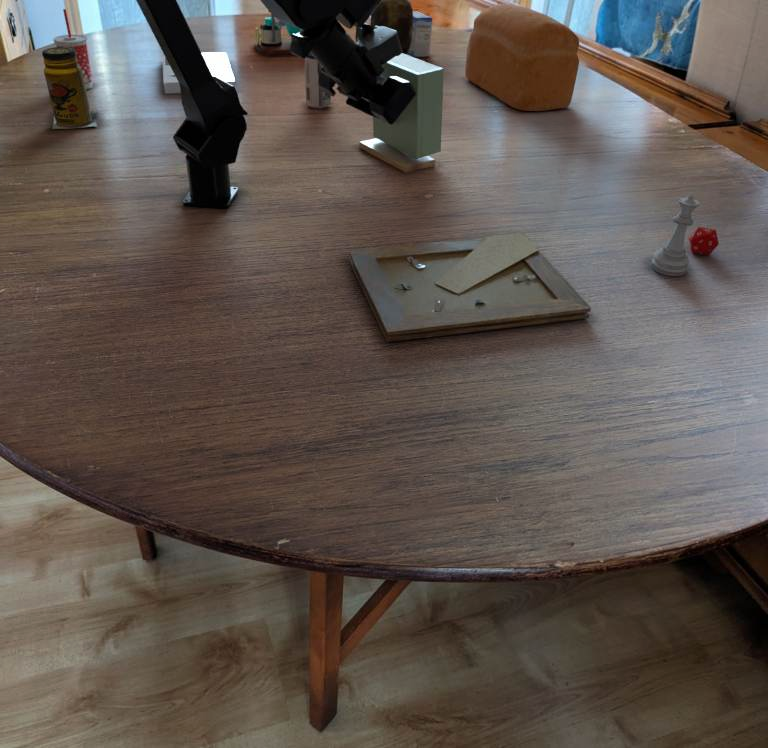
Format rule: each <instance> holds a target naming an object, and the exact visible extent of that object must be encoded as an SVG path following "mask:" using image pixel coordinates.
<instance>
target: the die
mask: <svg viewBox="0 0 768 748" xmlns="http://www.w3.org/2000/svg"><path fill="white" fill-rule="evenodd" d="M688 242H689V247H690V251H691V254H696V255H702V256H710V255H711V254H712V253H713V251H714V250H715V249H717V247H718V246H719V245H720V244H719V238H718V234H717V229H714V228H708V227H703V226H698V227H697V228H696V229H695V231H693V232H692V234H691V235H690V236H689V238H688Z"/></svg>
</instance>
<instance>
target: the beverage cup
mask: <svg viewBox="0 0 768 748" xmlns="http://www.w3.org/2000/svg"><path fill="white" fill-rule="evenodd" d="M62 11H63V16H64V20H65V26H66V30H67V34H62V35H57V36H55V37H53V43H54V46H55V45H56V46H55V47H69V48H73V49H74V50H75V52H76V57H77V59H78V64H79V66H80V67H81V68H82V72H83V77H84V82H85V86H86V90H90V89H92V88H93V87H94V86H93V78H92V72H91V64H90V56H89V49H88V43H89V41H88V40H89V39H88V37H87V36H86V35H83V34H72V33H71V27H70V23H69V19H68V13H67V9H66V8H63V10H62Z"/></svg>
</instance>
